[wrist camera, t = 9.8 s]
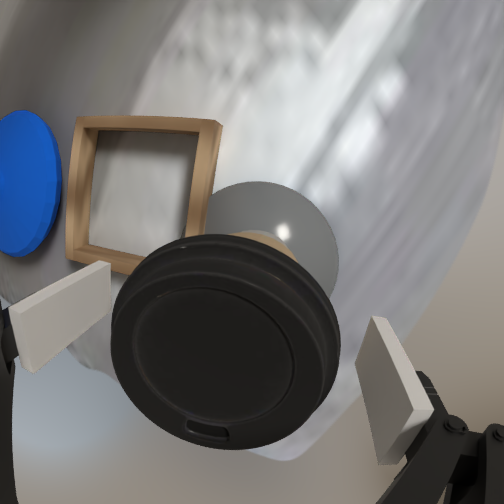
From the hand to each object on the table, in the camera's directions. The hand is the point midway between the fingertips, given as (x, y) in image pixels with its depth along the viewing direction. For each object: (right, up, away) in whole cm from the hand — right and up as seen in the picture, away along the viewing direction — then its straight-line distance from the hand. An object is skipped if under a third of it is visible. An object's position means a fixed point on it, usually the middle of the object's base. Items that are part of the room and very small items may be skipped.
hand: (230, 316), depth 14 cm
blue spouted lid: (-24, +11, +13) cm, 29 cm away
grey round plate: (+1, +2, +11) cm, 11 cm away
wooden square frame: (-9, +8, +11) cm, 16 cm away
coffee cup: (+1, +2, +10) cm, 11 cm away
